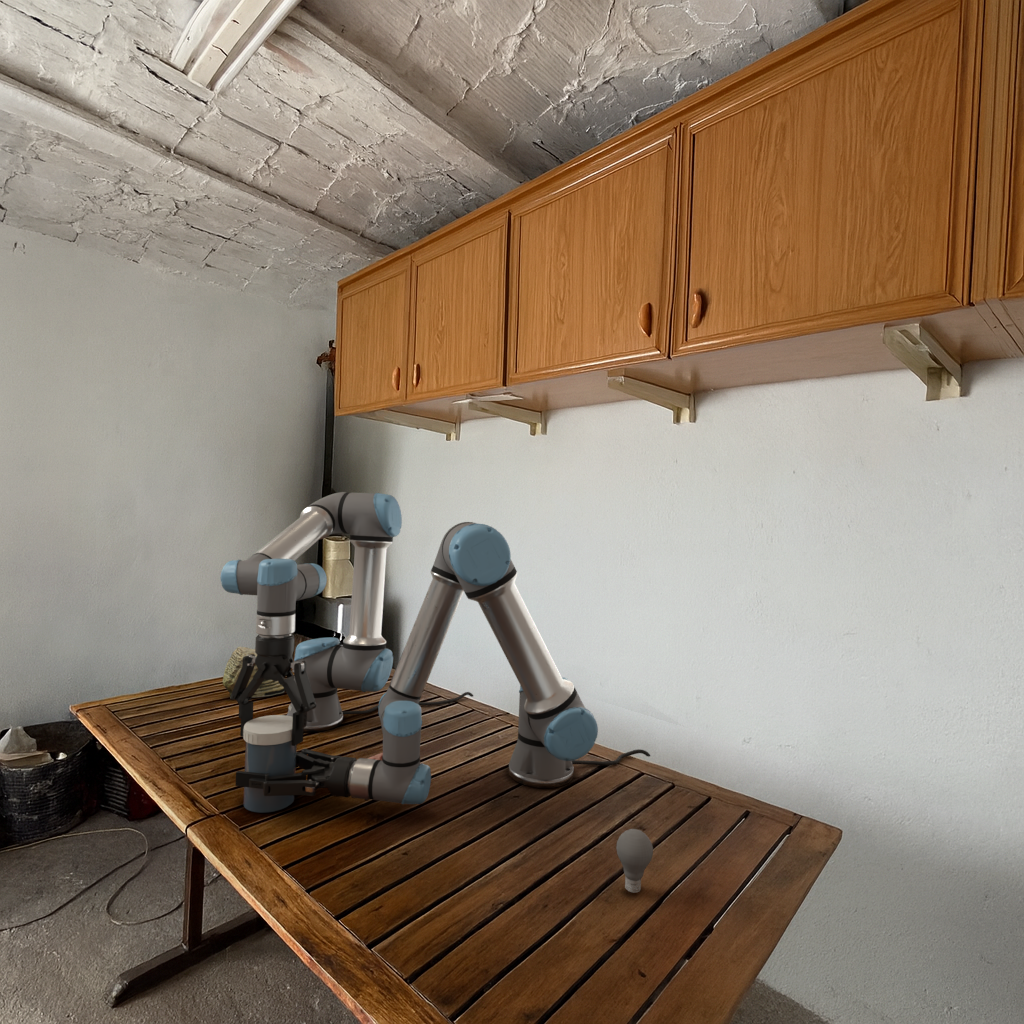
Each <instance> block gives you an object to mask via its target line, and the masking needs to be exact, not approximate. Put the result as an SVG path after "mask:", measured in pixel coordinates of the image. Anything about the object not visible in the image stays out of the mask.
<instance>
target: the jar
mask: <svg viewBox="0 0 1024 1024" xmlns="http://www.w3.org/2000/svg"><path fill="white" fill-rule="evenodd" d="M297 745H298V744H297ZM297 745H296V746H292V740H291V741H289V742H286V743H282V744H276V745H254V744H250V743H248V742H246V741H245V749H244V751H245V753H244V772H254V773H263V774H267V773H269V777H270V776H278V775H287V774H295V773H297V771H296V770H297V768H296V752H297ZM263 792H264V789H260V788H250V787H243V807H244V808H245V809H246V810H247V811H249V812H252V813H261V814H265V813H273V812H277V811H281V810H283V809H286V808H287V807H289V806H290V805H292V804H293V803H294V801H295V799H296V798H295V796H296V795H286V796H264V795H263Z"/></svg>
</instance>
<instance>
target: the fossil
mask: <svg viewBox="0 0 1024 1024" xmlns="http://www.w3.org/2000/svg"><path fill="white" fill-rule="evenodd" d="M251 654H254V655H255V656H256V657H257V654H256V653H255V648H251V647H247V646H246V647H245V646H238V647H237V648H236V649H235V650H233V651H232V653H231V656H230V657H229V659H228V660H227V663H226V666H225V668H224V671H223V675H222V676H223V677H222V685H223V687H224V688H225V690H226V691H228V693H229V698H230V699H231V697H230V696H231V694H232V691H233V689H234V686H235V684H236V681H237V679H238V676H239V674H240V671H241V669H242V662H243V657H245V656H248V655H251ZM257 670H258V668H257V666H256V665H255V666H254V669H253V672H252V674H251V677H250V679H249V682H248V684H247V686H248V685H249V683H250V682H251V680H252V679H253V676H254V675H255V673H256V672H257ZM285 692H286V691H285V689H284V687H283V686H282V685H280V684H279V682H278V681H273V680H271V679H270V680H265V679H264V681H263V682H262V684H261V685H260V686H259V688H258V689H257V691H256V692H255V693H254V695H253V696H252V697H251V699H253V698H264V697H271V696H275V695H281V694H284V693H285Z"/></svg>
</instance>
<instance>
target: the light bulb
mask: <svg viewBox="0 0 1024 1024" xmlns="http://www.w3.org/2000/svg"><path fill="white" fill-rule="evenodd" d="M615 849H616V854H617V857H618V859H619V861H620V863H621V865H622V867H623V873H624V874H623V875H624V876H625V878H624V888H625V890H627V891H628V892H630V893H634V894H635V893H639V892H640V891H641V889H642V887H641V886H642V879H643V877H644V875H645V871H646V868H647V867H648V866H649V864H650V863H651V861H652V859H653V855H654V847H653V843H652V841H651V838H649V836H648V835H647V834H646V833H645V832H643V831H642V830H641V829H636V828H629V829H627V830H625V831H623V832H622V833H621V834H620V835H619V837H618V839H617V841H616V847H615Z"/></svg>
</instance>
